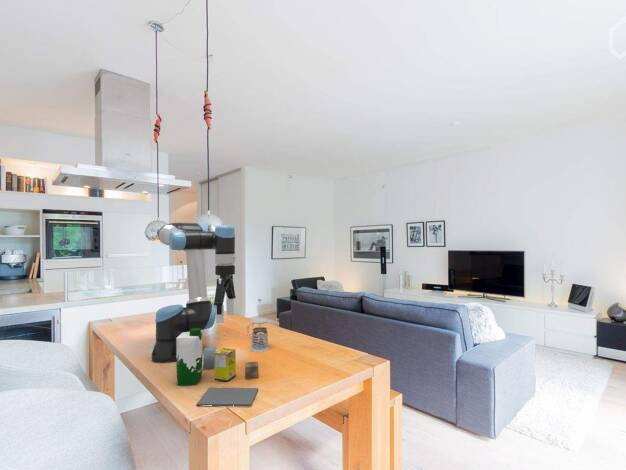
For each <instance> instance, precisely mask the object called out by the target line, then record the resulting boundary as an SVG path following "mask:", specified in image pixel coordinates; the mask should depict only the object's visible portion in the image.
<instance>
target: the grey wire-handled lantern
mask: <svg viewBox="0 0 626 470" xmlns="http://www.w3.org/2000/svg"><path fill="white" fill-rule="evenodd" d="M257 301H258V302H262V301H263V300H262V298H258V299H257ZM268 322H269V319H267V318H264V317H261V316H259V317H256V318H254V319H253V320H251V323H250V324H249V325H248V326H247V328H246V329H247V333H246V335H247V336H248V338H250V339H251V347H250V348H249V350H250V352H255V353H260V352H261V353H262V352H267V351H269V350H270V346H269V345H268V339H269V337H268V331H267V330H268V328H267V327H263V326H257V327H254V328H253V329H252V333H251V334H250V333H249V330H250V329H249V328H250V326H251V327H253V326H254V324H255V325H256V324H257V325H261V324H262V325H263V324H267V323H268Z"/></svg>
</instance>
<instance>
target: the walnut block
mask: <svg viewBox="0 0 626 470" xmlns="http://www.w3.org/2000/svg"><path fill="white" fill-rule="evenodd" d="M244 378H245V380H246V379H247V380H258V379H259V363H258V361H247V362H246V361H245V363H244ZM247 380H246V381H247Z"/></svg>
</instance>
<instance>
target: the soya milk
mask: <svg viewBox="0 0 626 470" xmlns="http://www.w3.org/2000/svg"><path fill="white" fill-rule="evenodd" d="M176 342H177V361H176V381H177V383H176V384H177V385H179V386H197V385H198V384H197V383H199V381H200V380H201V379H202V374H203V373H202V372H203V331H202V330H201V328H192V329H190V332H184V333H181V334H180V335H179V336H178V337H177V338H176ZM196 384H197V385H196ZM177 385H176V386H177Z"/></svg>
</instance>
